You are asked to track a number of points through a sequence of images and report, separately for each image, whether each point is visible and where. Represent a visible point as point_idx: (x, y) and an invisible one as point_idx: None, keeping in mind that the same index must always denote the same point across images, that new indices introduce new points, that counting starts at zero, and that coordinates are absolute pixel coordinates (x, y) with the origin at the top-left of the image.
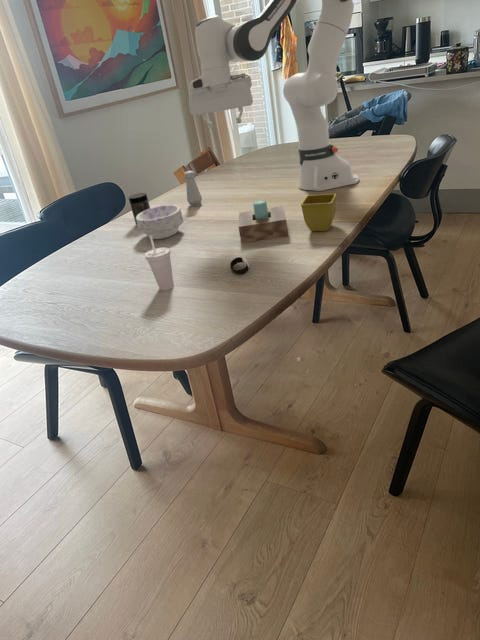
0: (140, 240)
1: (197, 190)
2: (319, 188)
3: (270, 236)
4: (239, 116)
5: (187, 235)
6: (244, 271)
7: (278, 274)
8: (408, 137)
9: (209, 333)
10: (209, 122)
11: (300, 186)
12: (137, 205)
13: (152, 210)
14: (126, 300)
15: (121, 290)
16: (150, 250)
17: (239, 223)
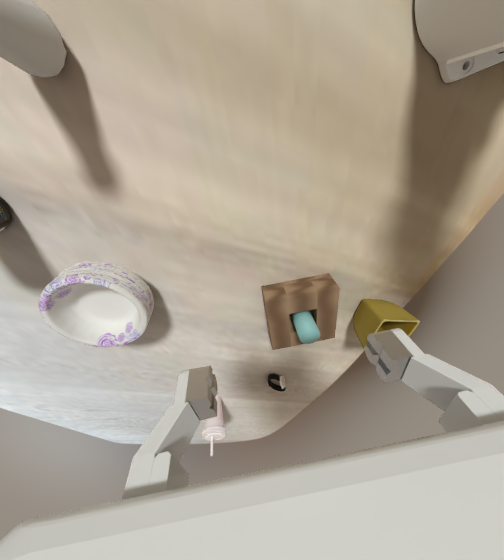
0: None
1: (33, 38)
2: (452, 81)
3: None
4: (411, 383)
5: (171, 299)
6: (281, 387)
7: (308, 383)
8: None
9: (267, 427)
10: (198, 414)
11: (421, 2)
12: None
13: (56, 291)
14: None
15: (170, 403)
16: (204, 434)
17: (272, 340)
